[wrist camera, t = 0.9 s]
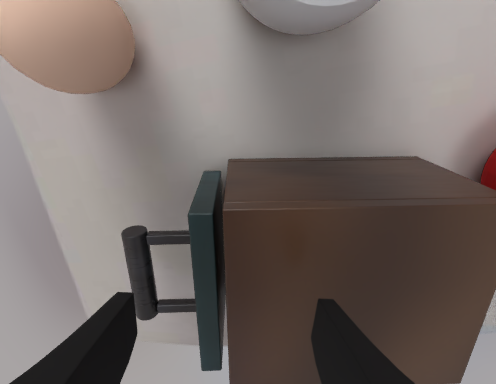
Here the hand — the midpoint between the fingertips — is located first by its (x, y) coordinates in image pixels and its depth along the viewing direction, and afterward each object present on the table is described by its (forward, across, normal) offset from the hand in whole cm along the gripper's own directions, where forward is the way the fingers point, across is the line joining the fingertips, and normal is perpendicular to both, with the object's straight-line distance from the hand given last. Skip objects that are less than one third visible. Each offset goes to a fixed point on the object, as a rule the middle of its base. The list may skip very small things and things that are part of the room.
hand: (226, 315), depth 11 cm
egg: (+11, +8, -10) cm, 17 cm away
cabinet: (+11, -7, +2) cm, 13 cm away
